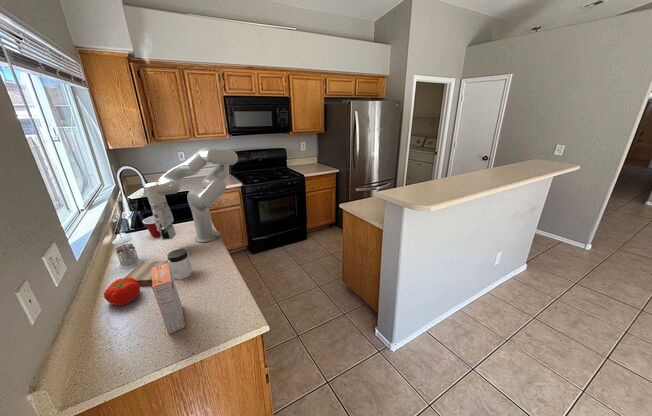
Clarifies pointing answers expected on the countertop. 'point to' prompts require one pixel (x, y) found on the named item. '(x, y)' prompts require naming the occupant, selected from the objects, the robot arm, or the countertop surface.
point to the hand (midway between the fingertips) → (168, 235)
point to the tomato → (122, 291)
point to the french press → (126, 251)
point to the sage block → (169, 232)
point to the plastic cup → (152, 226)
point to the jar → (179, 263)
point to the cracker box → (167, 298)
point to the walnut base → (144, 272)
